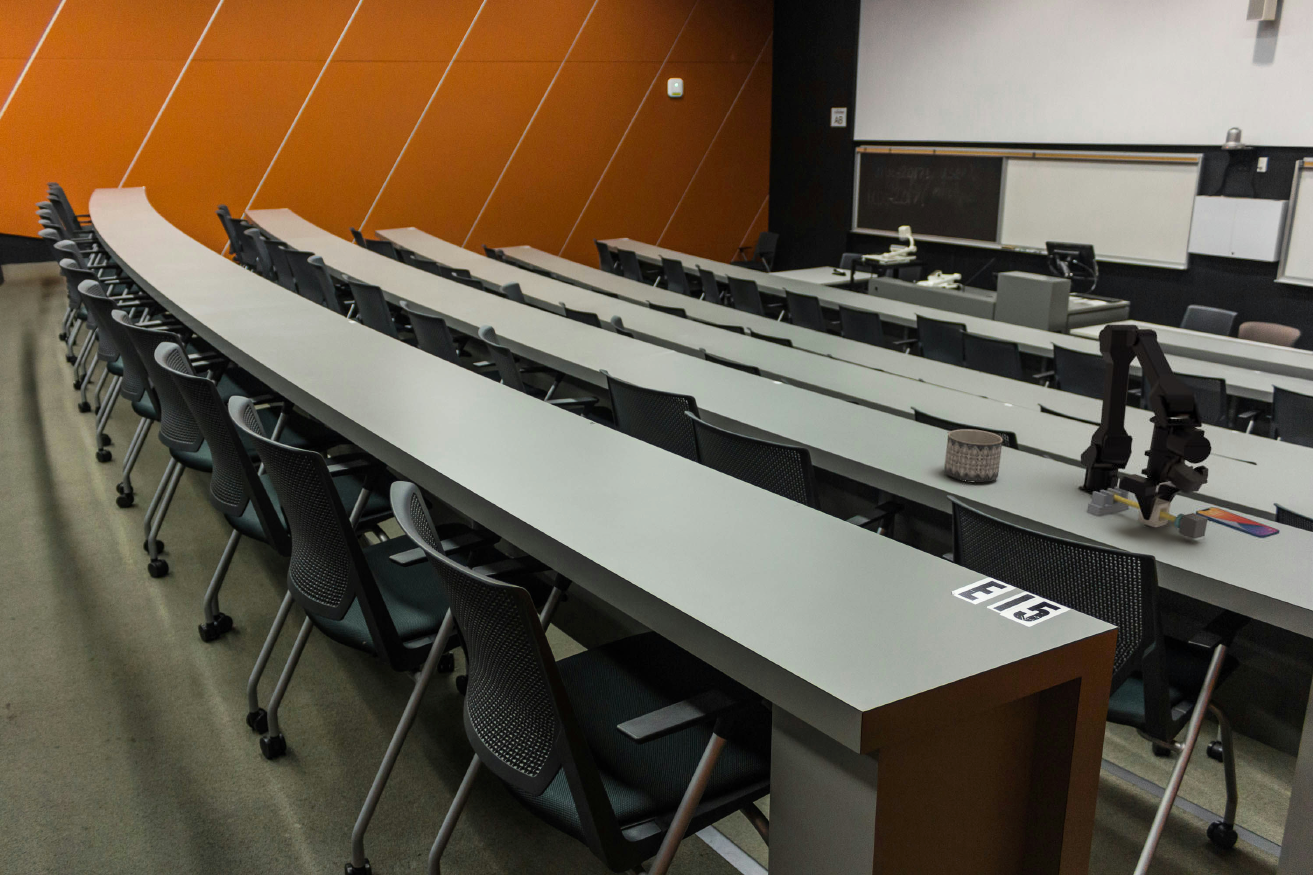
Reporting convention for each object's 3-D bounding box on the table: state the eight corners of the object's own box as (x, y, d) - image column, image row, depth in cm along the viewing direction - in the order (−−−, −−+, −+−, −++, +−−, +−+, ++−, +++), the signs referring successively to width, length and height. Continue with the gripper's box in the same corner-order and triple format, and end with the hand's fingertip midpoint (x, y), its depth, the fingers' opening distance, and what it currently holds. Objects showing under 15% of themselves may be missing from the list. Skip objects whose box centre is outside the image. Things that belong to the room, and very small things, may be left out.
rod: (1102, 496, 214) (1102, 491, 213) (1105, 495, 214) (1106, 490, 214) (1183, 526, 197) (1184, 520, 197) (1187, 525, 198) (1188, 520, 197)
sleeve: (1137, 520, 205) (1141, 499, 203) (1149, 517, 207) (1153, 496, 205) (1154, 527, 201) (1158, 505, 200) (1166, 524, 203) (1170, 502, 202)
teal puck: (1173, 529, 198) (1175, 514, 197) (1182, 526, 200) (1185, 512, 199) (1176, 530, 197) (1179, 516, 197) (1186, 528, 199) (1189, 513, 198)
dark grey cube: (1174, 531, 198) (1177, 514, 197) (1185, 529, 199) (1188, 511, 198) (1193, 539, 194) (1196, 520, 193) (1204, 536, 196) (1207, 517, 195)
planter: (979, 489, 226) (984, 447, 223) (933, 475, 235) (937, 435, 232) (1007, 478, 234) (1012, 437, 231) (961, 465, 243) (966, 426, 240)
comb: (1086, 511, 212) (1089, 492, 211) (1116, 504, 217) (1119, 485, 216) (1098, 516, 210) (1101, 496, 209) (1128, 509, 214) (1131, 489, 213)
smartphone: (1260, 541, 199) (1261, 536, 199) (1192, 516, 212) (1193, 511, 211) (1281, 535, 203) (1282, 530, 202) (1213, 510, 215) (1214, 506, 215)
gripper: (1172, 465, 188) (1158, 538, 193) (1230, 453, 196) (1216, 523, 201) (1122, 450, 198) (1111, 520, 202) (1180, 439, 206) (1168, 506, 210)
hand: (1153, 518), depth 204 cm, fingers closed on sleeve, 4 cm apart
